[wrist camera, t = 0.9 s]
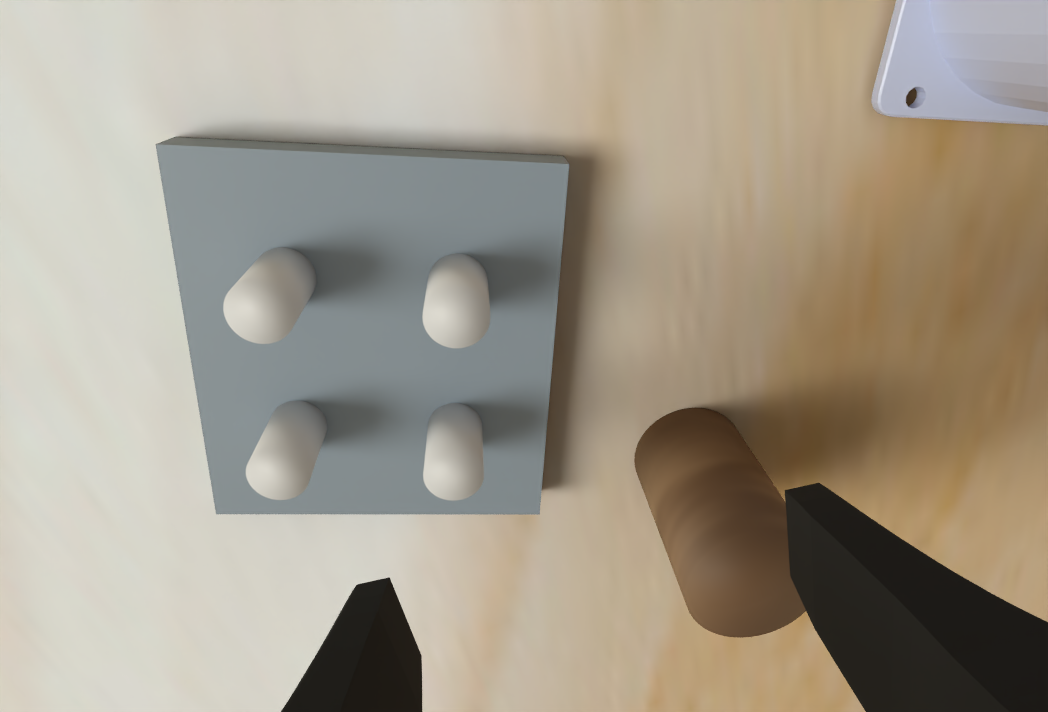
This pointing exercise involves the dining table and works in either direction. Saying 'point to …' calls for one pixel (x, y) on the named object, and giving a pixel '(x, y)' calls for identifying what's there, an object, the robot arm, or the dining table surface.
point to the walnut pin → (719, 523)
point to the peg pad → (368, 322)
